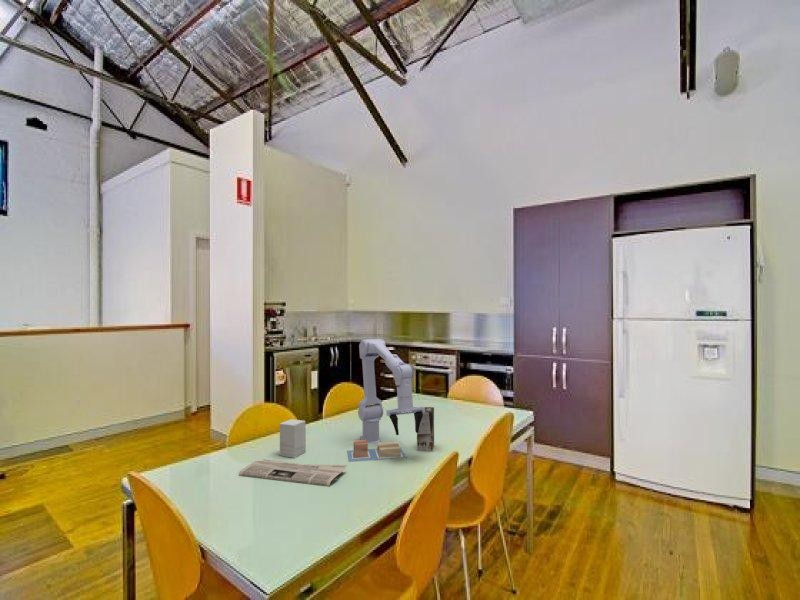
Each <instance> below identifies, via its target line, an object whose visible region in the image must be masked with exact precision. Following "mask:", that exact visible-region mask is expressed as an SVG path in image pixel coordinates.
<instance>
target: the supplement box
mask: <svg viewBox="0 0 800 600" xmlns="http://www.w3.org/2000/svg"><path fill="white" fill-rule="evenodd" d="M306 430H307V429H306V420H300V419H294V418H293V419H292V418H290V419H287V420H285V421H283V422H279V456H281V457H288V458H290V459H292V458H293V459H295V458H297V457H299V456H302V455H304V454H305V453H306V447H307V446H306V445H307V444H306V440H307V439H306V438H307V437H306V432H307V431H306Z"/></svg>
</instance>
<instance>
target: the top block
mask: <svg viewBox="0 0 800 600" xmlns="http://www.w3.org/2000/svg"><path fill="white" fill-rule="evenodd" d="M368 449H369V443H367V440H361V439H359V440H357V439H355V440H353V450H354V458H361V457H368Z"/></svg>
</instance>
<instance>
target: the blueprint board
mask: <svg viewBox="0 0 800 600" xmlns="http://www.w3.org/2000/svg"><path fill="white" fill-rule="evenodd" d="M400 448H401V456H397V457H382V458H380V456H379V454H378V451H377V448H371V449H369V448H368V457H361V458H354V449H352V450H346V456H347V462H349V463H351V462H367V461H380V460H382V461H383V460H396V459H397V460H398V459H407V458H408V457H407V456H406V453H405V452H404V450H403V448H402V447H401V446H400Z"/></svg>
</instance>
